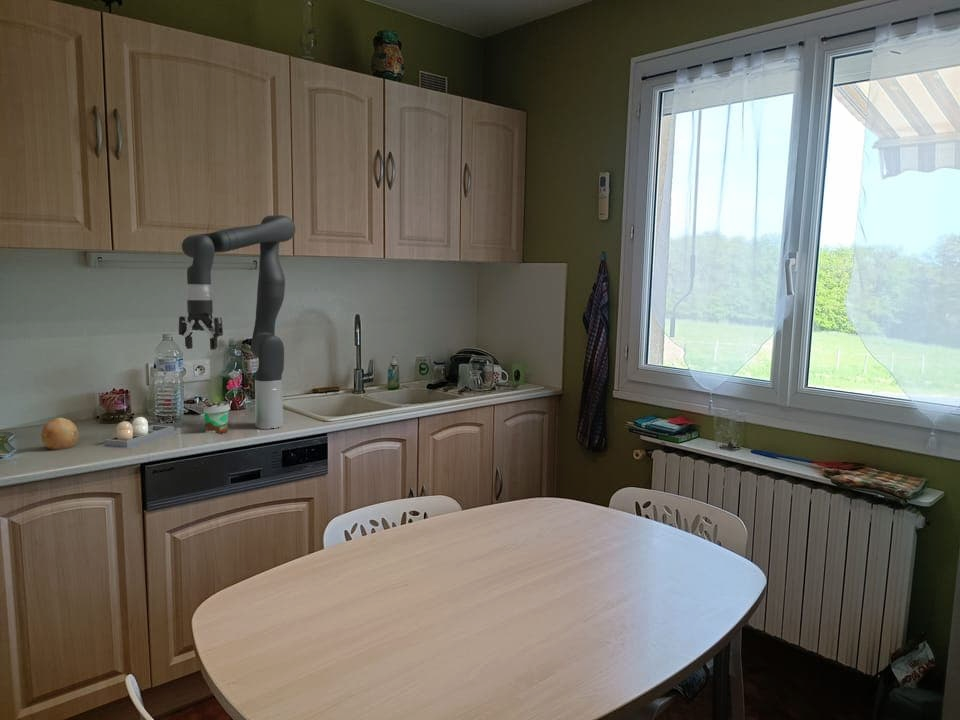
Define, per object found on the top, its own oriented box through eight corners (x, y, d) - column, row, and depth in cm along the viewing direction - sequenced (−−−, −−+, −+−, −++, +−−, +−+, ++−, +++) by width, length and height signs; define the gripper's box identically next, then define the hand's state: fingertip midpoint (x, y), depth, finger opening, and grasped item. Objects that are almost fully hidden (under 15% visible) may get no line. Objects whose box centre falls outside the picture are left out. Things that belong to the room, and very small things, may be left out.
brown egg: (124, 441, 211) (123, 419, 210) (136, 442, 210) (135, 420, 209) (113, 444, 207) (112, 422, 206) (126, 445, 206) (125, 423, 205)
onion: (73, 453, 199) (71, 421, 198) (35, 455, 197) (33, 421, 196) (84, 445, 209) (83, 414, 207) (49, 446, 206) (47, 415, 205)
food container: (222, 437, 223) (221, 407, 222) (204, 436, 224) (203, 407, 222) (236, 428, 236) (235, 401, 234) (219, 428, 236) (218, 400, 235)
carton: (149, 432, 228) (149, 424, 228) (181, 434, 226) (180, 426, 226) (96, 449, 205) (96, 440, 205) (130, 451, 203) (130, 442, 202)
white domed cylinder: (139, 436, 218) (138, 415, 217) (151, 437, 217) (150, 416, 216) (130, 439, 214) (128, 418, 213) (142, 440, 213) (140, 418, 212)
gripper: (226, 298, 215) (227, 348, 217) (187, 297, 218) (188, 347, 220) (212, 299, 208) (214, 351, 210) (172, 298, 211) (174, 349, 213)
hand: (201, 349), depth 215 cm, fingers open, 8 cm apart
